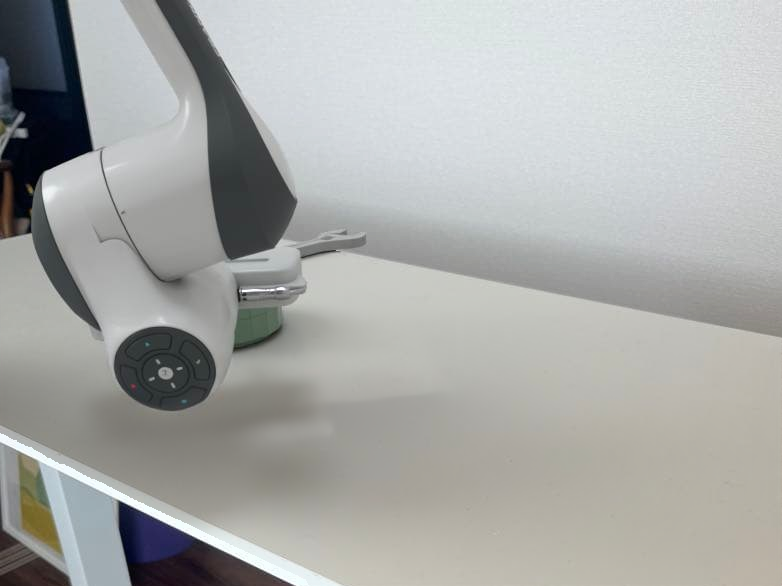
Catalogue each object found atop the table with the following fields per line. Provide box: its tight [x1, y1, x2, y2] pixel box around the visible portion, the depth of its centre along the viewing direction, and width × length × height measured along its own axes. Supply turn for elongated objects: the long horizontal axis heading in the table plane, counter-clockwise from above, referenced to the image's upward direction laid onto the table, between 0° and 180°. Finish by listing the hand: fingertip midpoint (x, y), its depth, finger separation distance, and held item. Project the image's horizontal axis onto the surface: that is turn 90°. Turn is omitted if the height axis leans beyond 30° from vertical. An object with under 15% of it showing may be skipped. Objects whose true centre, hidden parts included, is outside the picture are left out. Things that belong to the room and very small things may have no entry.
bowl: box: [233, 306, 284, 349], centre depth 96 cm, size 15×15×6 cm
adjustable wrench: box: [282, 228, 367, 258], centre depth 122 cm, size 25×6×2 cm, turn 127°
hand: (199, 254), depth 82 cm, fingers open, 8 cm apart
